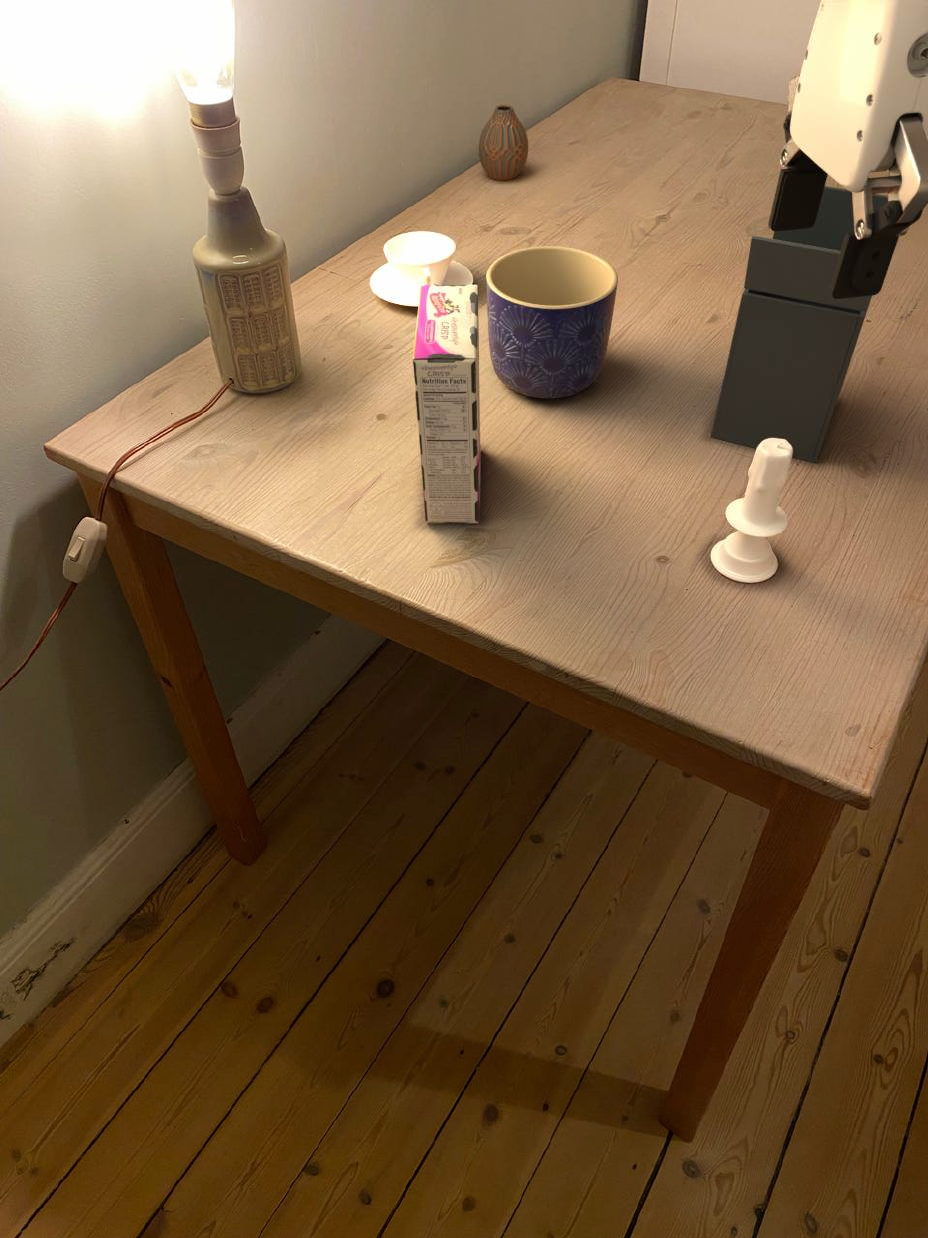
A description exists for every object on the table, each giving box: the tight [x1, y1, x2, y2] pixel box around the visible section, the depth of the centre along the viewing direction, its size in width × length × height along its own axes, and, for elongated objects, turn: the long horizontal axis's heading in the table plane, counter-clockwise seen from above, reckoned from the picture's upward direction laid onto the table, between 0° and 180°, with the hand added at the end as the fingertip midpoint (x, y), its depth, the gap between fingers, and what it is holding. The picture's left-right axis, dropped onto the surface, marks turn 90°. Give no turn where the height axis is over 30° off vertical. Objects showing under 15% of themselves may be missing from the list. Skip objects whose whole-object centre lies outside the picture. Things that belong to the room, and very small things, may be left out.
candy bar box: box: [412, 284, 482, 525], centre depth 76 cm, size 11×5×16 cm, turn 179°
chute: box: [710, 185, 888, 464], centre depth 81 cm, size 12×10×20 cm
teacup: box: [369, 231, 474, 307], centre depth 105 cm, size 12×12×5 cm
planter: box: [485, 245, 619, 399], centre depth 90 cm, size 12×12×11 cm
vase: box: [478, 104, 529, 181], centre depth 126 cm, size 7×7×9 cm
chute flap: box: [743, 235, 871, 312], centre depth 71 cm, size 5×10×1 cm
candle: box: [710, 438, 793, 584], centre depth 70 cm, size 5×5×12 cm
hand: (820, 259), depth 60 cm, fingers open, 9 cm apart
